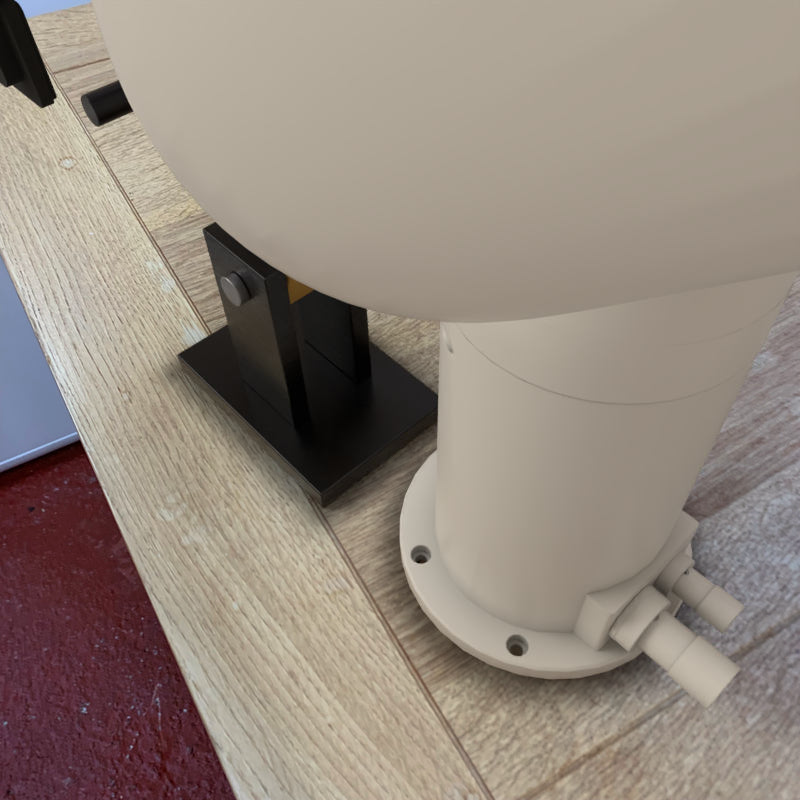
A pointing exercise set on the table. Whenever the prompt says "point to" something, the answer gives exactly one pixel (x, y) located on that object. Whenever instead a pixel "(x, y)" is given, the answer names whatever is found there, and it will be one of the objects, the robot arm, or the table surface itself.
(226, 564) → the table surface
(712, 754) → the table surface
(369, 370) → the bracket
